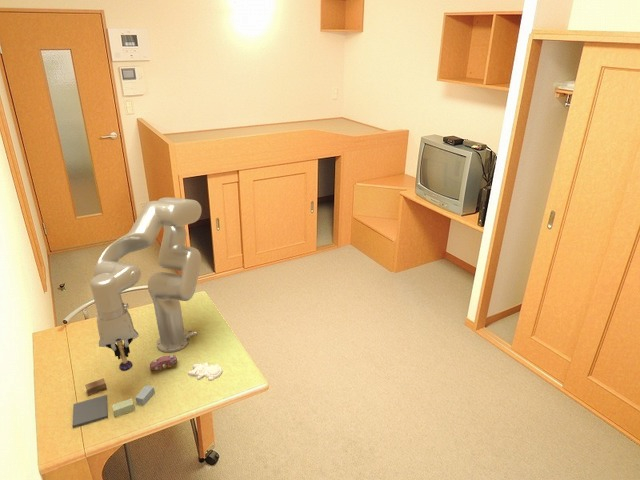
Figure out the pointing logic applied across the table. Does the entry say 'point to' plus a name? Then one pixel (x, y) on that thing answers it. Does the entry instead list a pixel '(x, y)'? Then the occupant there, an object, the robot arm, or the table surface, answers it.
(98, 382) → the brick
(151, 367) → the video game controller
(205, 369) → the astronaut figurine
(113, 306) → the robot arm
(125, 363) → the toy lamp
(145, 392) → the brick
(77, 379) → the table surface
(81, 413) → the pad
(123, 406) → the brick
